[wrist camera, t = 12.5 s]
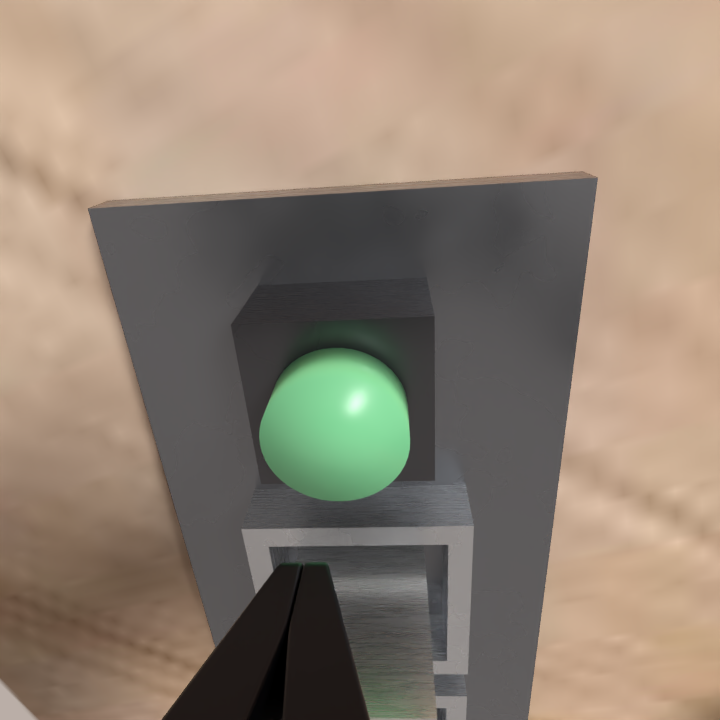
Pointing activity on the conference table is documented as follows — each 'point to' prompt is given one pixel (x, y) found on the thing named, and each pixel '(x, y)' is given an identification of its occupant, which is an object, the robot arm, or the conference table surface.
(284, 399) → the button
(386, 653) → the aluminium block
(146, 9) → the conference table surface
